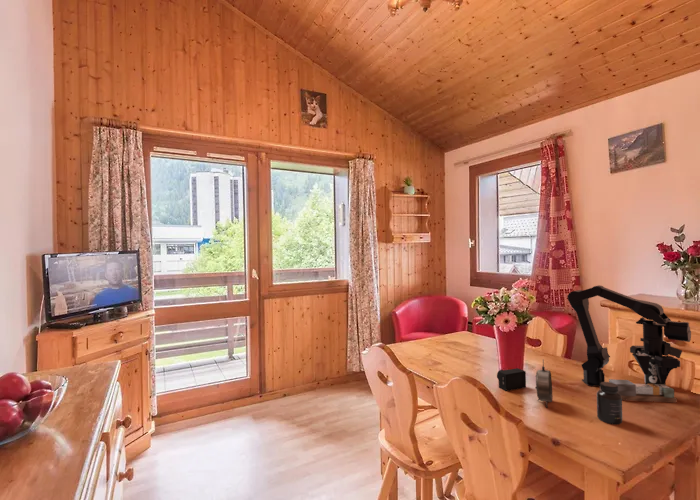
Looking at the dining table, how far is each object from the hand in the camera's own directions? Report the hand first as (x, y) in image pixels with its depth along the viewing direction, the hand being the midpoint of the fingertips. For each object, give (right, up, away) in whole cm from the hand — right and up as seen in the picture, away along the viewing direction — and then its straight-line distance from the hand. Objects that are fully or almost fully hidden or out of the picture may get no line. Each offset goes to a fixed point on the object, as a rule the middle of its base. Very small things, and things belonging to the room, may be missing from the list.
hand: (654, 378), depth 134 cm
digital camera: (-47, -9, +14) cm, 50 cm away
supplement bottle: (-28, -8, -16) cm, 34 cm away
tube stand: (-4, -8, +1) cm, 9 cm away
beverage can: (+11, -8, +12) cm, 18 cm away
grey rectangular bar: (-2, -6, 0) cm, 6 cm away
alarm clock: (-42, -9, -1) cm, 43 cm away
